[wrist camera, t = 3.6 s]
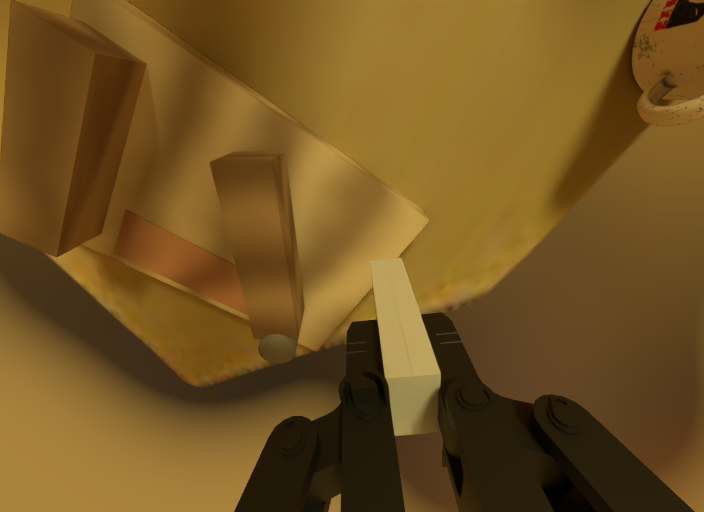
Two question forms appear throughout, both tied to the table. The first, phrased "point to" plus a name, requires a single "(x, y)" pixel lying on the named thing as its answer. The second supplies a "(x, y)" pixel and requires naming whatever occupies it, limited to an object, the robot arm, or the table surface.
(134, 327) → the table surface
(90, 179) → the wooden board with block
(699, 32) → the teacup with lid
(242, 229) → the hinged leg
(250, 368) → the table surface
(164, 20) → the table surface
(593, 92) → the table surface
